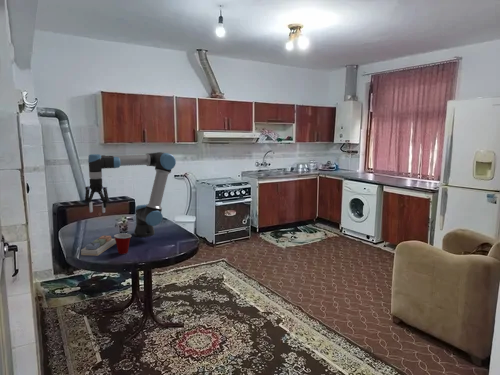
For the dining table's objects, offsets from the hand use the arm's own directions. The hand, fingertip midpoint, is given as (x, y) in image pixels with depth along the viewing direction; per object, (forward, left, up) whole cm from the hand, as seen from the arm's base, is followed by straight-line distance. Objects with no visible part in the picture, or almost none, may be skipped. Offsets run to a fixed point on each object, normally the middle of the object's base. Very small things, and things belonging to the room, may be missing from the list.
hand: (97, 212), depth 228 cm
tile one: (0, -8, -22) cm, 23 cm away
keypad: (0, 0, -25) cm, 25 cm away
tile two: (0, 0, -22) cm, 22 cm away
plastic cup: (-19, +5, -25) cm, 32 cm away
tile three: (0, +8, -22) cm, 23 cm away
